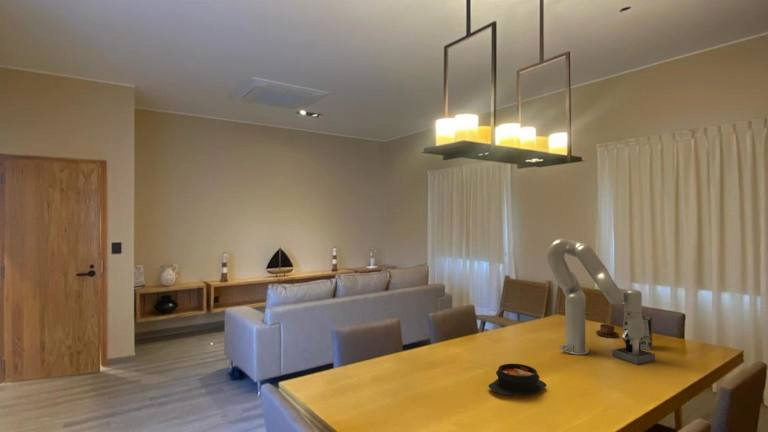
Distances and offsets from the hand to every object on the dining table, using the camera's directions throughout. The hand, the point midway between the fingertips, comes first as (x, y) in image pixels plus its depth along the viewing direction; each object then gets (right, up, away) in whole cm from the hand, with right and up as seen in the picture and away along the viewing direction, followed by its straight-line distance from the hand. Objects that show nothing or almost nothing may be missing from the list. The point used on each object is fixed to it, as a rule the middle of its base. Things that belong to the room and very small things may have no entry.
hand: (633, 350), depth 208 cm
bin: (0, -4, 0) cm, 4 cm away
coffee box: (+17, -4, +18) cm, 25 cm away
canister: (0, -2, 0) cm, 2 cm away
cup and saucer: (+9, -5, +42) cm, 43 cm away
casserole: (-70, -4, -38) cm, 79 cm away
